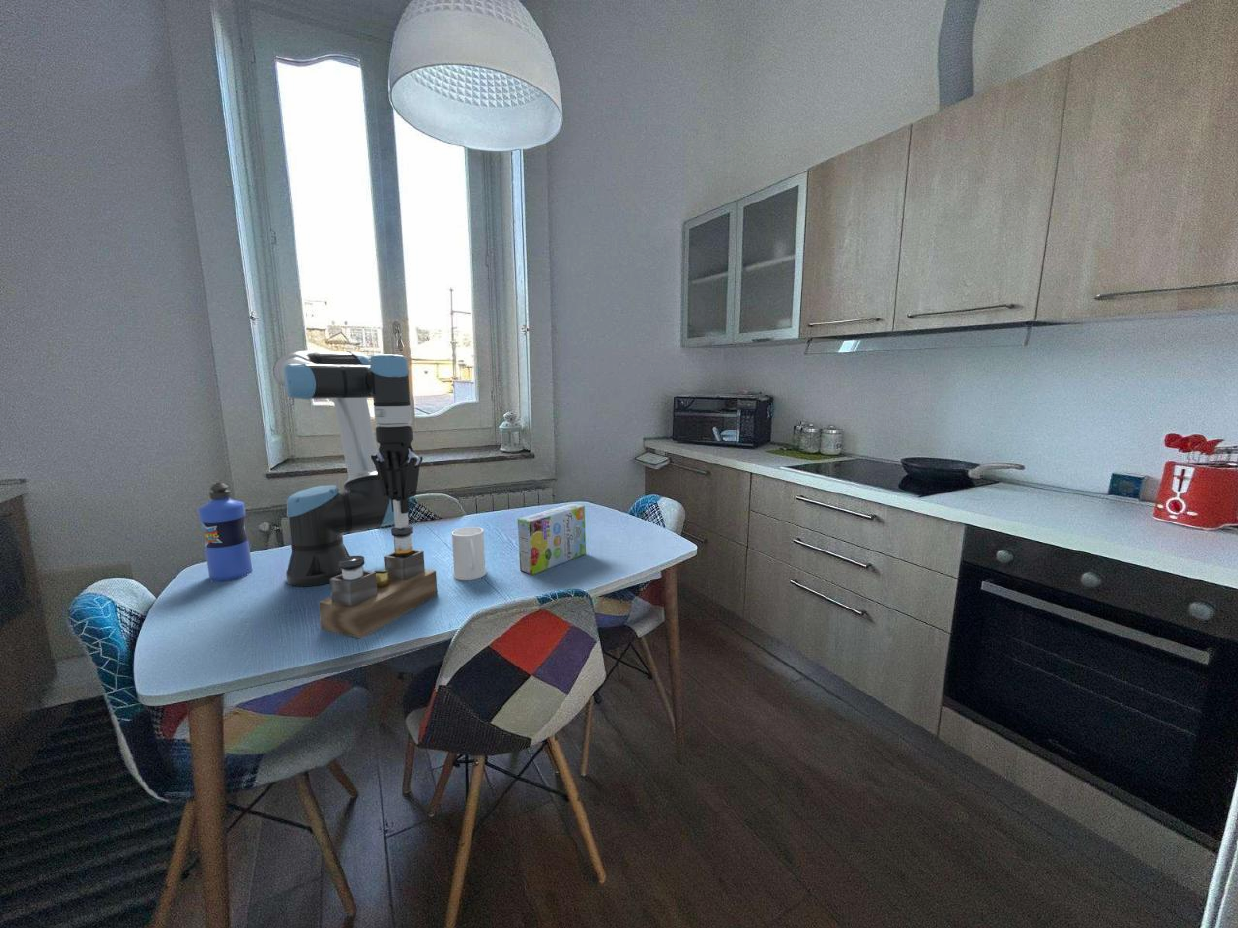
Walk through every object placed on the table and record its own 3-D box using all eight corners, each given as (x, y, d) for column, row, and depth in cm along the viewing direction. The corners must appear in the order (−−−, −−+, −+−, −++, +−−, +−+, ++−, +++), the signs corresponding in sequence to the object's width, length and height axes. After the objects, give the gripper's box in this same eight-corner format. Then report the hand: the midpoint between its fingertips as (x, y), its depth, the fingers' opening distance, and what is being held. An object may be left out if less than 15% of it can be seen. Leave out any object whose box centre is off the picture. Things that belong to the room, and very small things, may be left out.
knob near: (336, 596, 100) (333, 561, 99) (355, 588, 104) (352, 554, 103) (353, 600, 98) (350, 564, 97) (372, 591, 102) (369, 557, 101)
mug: (489, 582, 124) (487, 537, 122) (454, 587, 121) (451, 541, 119) (485, 566, 135) (483, 525, 133) (452, 570, 132) (450, 528, 130)
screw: (371, 588, 106) (370, 573, 106) (378, 582, 109) (377, 568, 109) (385, 588, 106) (384, 573, 106) (391, 582, 109) (390, 568, 109)
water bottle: (224, 583, 123) (210, 488, 119) (199, 578, 126) (185, 485, 122) (261, 570, 132) (249, 481, 128) (237, 566, 135) (225, 478, 131)
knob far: (389, 561, 112) (386, 529, 111) (404, 554, 117) (401, 524, 115) (404, 563, 111) (402, 532, 110) (419, 557, 115) (417, 526, 114)
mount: (321, 629, 100) (316, 579, 99) (402, 587, 121) (398, 545, 119) (361, 638, 97) (356, 586, 95) (437, 594, 117) (434, 550, 115)
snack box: (573, 550, 148) (572, 502, 146) (586, 554, 145) (586, 505, 142) (518, 570, 132) (516, 517, 130) (532, 575, 128) (530, 521, 126)
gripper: (358, 425, 107) (367, 528, 111) (404, 427, 103) (412, 533, 107) (384, 423, 114) (392, 519, 118) (429, 424, 110) (435, 524, 114)
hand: (401, 526), depth 112 cm, fingers closed
